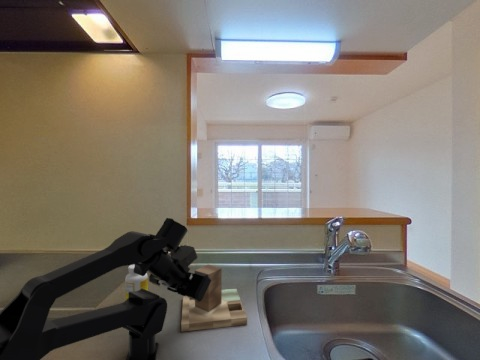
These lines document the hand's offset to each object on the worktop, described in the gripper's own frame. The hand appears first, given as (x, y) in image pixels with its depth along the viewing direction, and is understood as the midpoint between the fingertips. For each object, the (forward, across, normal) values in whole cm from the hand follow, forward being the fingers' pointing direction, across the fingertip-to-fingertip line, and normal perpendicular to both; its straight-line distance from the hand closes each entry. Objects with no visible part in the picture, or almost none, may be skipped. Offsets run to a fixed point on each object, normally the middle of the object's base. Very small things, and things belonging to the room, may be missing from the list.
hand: (194, 292), depth 73 cm
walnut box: (+9, 0, 0) cm, 9 cm away
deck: (+11, -1, +1) cm, 11 cm away
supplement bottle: (+3, +21, +9) cm, 23 cm away
